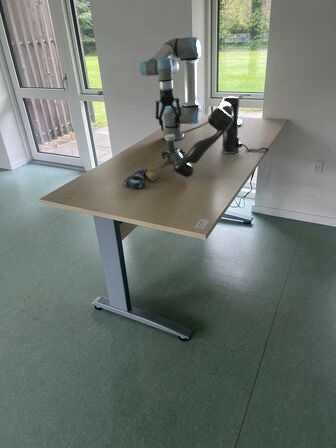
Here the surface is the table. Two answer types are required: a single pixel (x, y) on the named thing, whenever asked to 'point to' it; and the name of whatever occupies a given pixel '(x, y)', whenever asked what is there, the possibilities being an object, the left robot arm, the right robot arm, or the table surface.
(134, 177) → the spray gun
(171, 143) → the bottle
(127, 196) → the table surface
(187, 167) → the right robot arm
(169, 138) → the lid
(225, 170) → the table surface
